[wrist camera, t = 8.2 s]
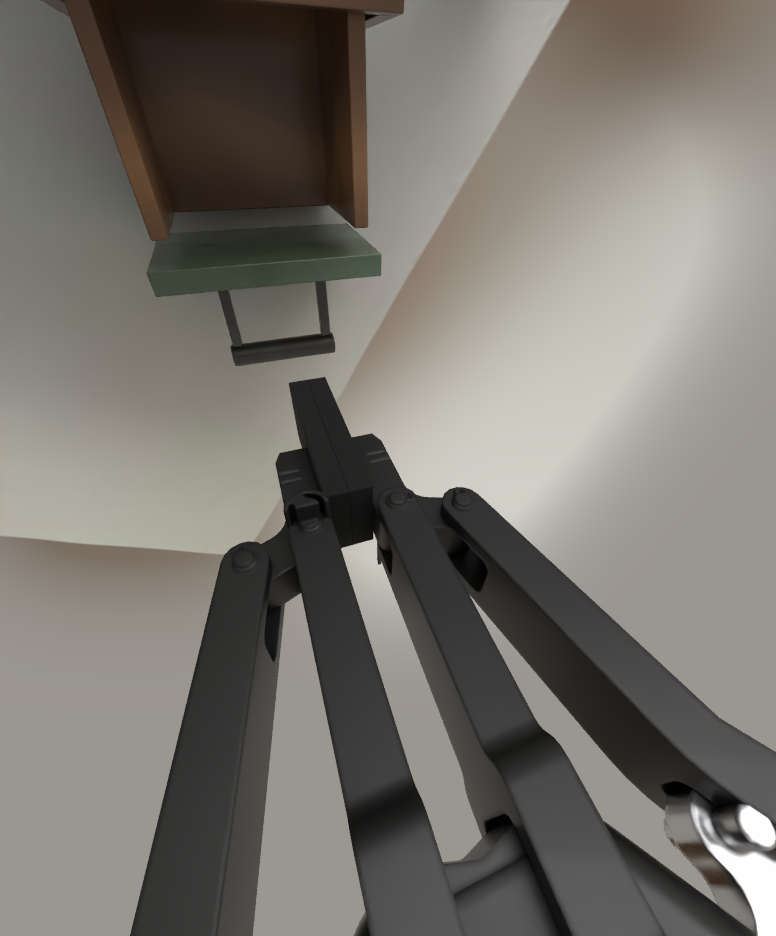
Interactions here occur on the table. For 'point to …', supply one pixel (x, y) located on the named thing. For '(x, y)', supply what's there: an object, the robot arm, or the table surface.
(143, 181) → the drawer
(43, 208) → the table surface
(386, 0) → the cabinet
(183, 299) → the table surface
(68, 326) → the table surface
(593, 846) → the robot arm
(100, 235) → the table surface
